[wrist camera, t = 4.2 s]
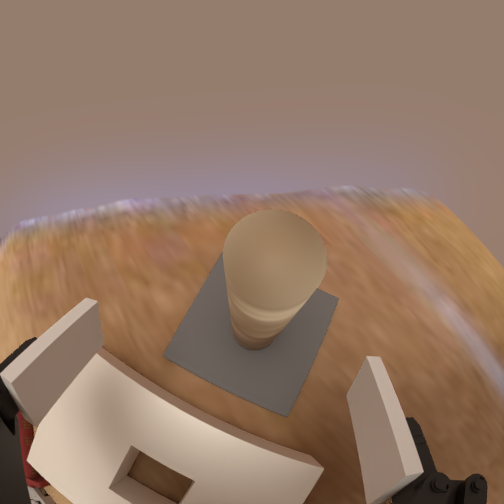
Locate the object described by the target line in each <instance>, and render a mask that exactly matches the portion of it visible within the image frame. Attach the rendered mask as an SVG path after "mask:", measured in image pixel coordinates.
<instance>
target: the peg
mask: <svg viewBox="0 0 504 504" xmlns="http://www.w3.org/2000/svg"><path fill="white" fill-rule="evenodd" d="M223 263H224V271H225V279H226V286H227V294H228V301H229V309H230V316H231V323H232V330H233V335H234V338H235V340H236V341H237V343H238V344H239V345H241V346H242V347H244V348H245V349H248V350H261V349H264V348H266V347H267V346H268V345H270V344H271V343H272V341H273V340H274V339H275V338H276V337H277V336H278V335H279V333H280V332H281V331H282V330H283V329H284V328H285V326H286V325H287V324H288V323H289V322H290V320H291V319H292V318H293V317H294V316H295V314H296V313H297V312H298V311H299V310H300V308H301V307H302V306H303V305H304V304H305V302H306V301H307V300H308V299H309V297H310V296H311V295H312V294H313V292H314V291H315V290H316V289H317V287H318V286H319V285H320V283H321V282H322V280H323V278H324V275H325V272H326V268H327V251H326V247H325V244H324V242H323V239H322V238H321V236H320V234H319V233H318V232H317V230H316V229H315V228H314V227H313V226H312V225H311V224H310V223H309V222H308V221H306V220H305V219H303V218H302V217H300V216H298V215H296V214H293V213H291V212H287V211H283V210H272V209H270V210H262V211H257V212H254V213H252V214H249V215H247V216H246V217H244V218H242V219H241V220H240V221H238V222H237V223H236V224H235V225H234V226H233V227H232V229H231V230H230V232H229V233H228V235H227V237H226V240H225V243H224V247H223Z"/></svg>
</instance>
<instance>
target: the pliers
mask: <svg viewBox="0 0 504 504" xmlns="http://www.w3.org/2000/svg"><path fill="white" fill-rule="evenodd" d="M17 416H18V419H19V433H20V443H21V452H22V459H23V466H24V472H25V477H26V482H27V487H28V491H29V496H30V498H32V499H30V500H31V503H32V504H55V502H54V501H53V499H52V498H51V497H50V496H46V492H45V490H44V488H43V487H45V486H48V485H50V483H49V482H48V481H47V480H46V479H45V478H44V477H42V476H40V474H39V473H38V472H37V471H36V470H35V469H34V468H33V467H32V465H31V464H30V463H29V462H28V461H27V458H28V455H29V452H30V449H31V446H32V443H33V440H34V437H33V429H32V424H31V423H29V422H28V421H27V420H25V419H24V417H23V415H22V414H21V412H20V411H19V412H18V413H17ZM45 496H46V497H45Z"/></svg>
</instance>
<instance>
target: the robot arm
mask: <svg viewBox="0 0 504 504" xmlns="http://www.w3.org/2000/svg"><path fill="white" fill-rule="evenodd" d="M103 345H104V342H103V336H102V329H101V322H100V315H99V306H98V301H95V300H92V299H89V298H85V299H84V300H83V301H82V302H80V303H79V304H78V305H77V306H75V307H74V308H73V309H72V310H70V311H69V312H68V313H67V314H66V315H64V316H63V317H62V318H61V319H60V320H59V321H57V322H56V323H55V324H54V325H53V326H51V327H50V328H49V329H48V330H47V331H46V332H45V333H43V334H42V335H41V336H40V337H39V338H38V339H37V338H36V337H34V338H32V339H29V340H27V341H25V342H24V343H23V344H22V345H21V346H20V347H19V349H16V350H15V351H14V352H13V354H11V355H10V356H8V357H7V358H6V359H5V360H4V361H3V362H2V363H1V364H0V504H32V503H31V500H30V496H29V491H28V487H27V482H26V477H25V472H24V466H23V459H22V452H21V443H20V433H19V419H18V416H17V413H18V412H19V411H20V412H21V414H22V415H23V417H24V419H25V420H27V421H28V422H29V423H31V424H32V425H34V426H35V427H37V426H38V425H39V424H40V422H41V421H42V420H43V418H44V417H45V416H46V415H47V413H48V412H49V411H50V409H51V408H52V407H53V406H54V404H55V403H56V402H57V400H58V399H59V398H60V397H61V395H62V394H63V393H64V392H65V390H66V389H67V388H68V387H69V385H70V384H71V383H72V382H73V381H74V379H75V378H76V377H77V376H78V374H79V373H80V372H81V371H82V370H83V368H84V367H85V366H86V365H87V364H88V363H89V361H90V360H91V359H92V358H93V357H94V355H95V354H96V353H97V352H98V351H99V350H100V348H101V347H102V346H103ZM346 396H347V401H348V405H349V410H350V415H351V419H352V424H353V429H354V434H355V439H356V444H357V449H358V455H359V460H360V466H361V472H362V478H363V484H364V491H365V497H366V504H380V503H384V502H385V501H387V500H388V499H390V498H391V497H392V502H393V503H391V504H486V503H487V481H486V480H485V478H484V477H483V476H482V475H480V474H472V475H471V476H469V477H468V478H467V479H466V480H464V481H460V480H449V478H448V477H447V476H446V475H445V474H443V473H439V472H437V470H436V468H435V465H434V462H433V459H432V457H431V454H430V451H429V448H428V446H427V444H426V440H425V438H424V437H423V433H422V430H421V427H420V425H419V424H418V423H417V422H416V421H415V419H414V418H413V417H410V418H405V416H404V413H403V411H402V408H401V406H400V403H399V401H398V398H397V396H396V393H395V391H394V388H393V386H392V383H391V381H390V379H389V376H388V374H387V371H386V369H385V367H384V364H383V362H382V360H381V358H380V357H374V356H366V358H365V360H364V362H363V364H362V366H361V368H360V370H359V372H358V374H357V376H356V378H355V380H354V382H353V384H352V385H351V387H350V389H349V391H348V393H347V395H346Z"/></svg>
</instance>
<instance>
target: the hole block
mask: <svg viewBox="0 0 504 504" xmlns="http://www.w3.org/2000/svg"><path fill="white" fill-rule="evenodd" d="M140 451H141V452H143V453H145V454H146V455H148V456H150V457H151V458H153V459H155V460H156V461H158V462H160V463H161V464H163V465H165V466H167V467H169V468H171V469H172V470H174V471H176V472H178V473H180V474H182V475H184V476H186V477H188V478H190V479H192V480H193V482H192V483H191V485H190V487H189V488H188V490H187V491H186V493H185V495H184V496H183V498H182V499H181V501H180V502H179V504H303V503H304V501H305V500H306V498H307V496H308V495H309V493H310V492H311V490H312V489H313V487H314V485H315V484H316V482H317V480H318V479H319V477H320V475H321V474H322V472H323V470H324V468H323V467H322V466H321V465H320V464H319V463H318V462H317V461H316V460H315V459H314V458H313V457H312V456H311V455H308V454H305V453H302V452H299V451H296V450H293V449H290V448H287V447H284V446H281V445H279V444H276V443H273V442H271V441H268V440H266V439H263V438H260V437H258V436H256V435H253V434H251V433H248V432H246V431H244V430H241V429H239V428H237V427H235V426H232V425H230V424H228V423H226V422H224V421H222V420H220V419H218V418H216V417H214V416H212V415H210V414H208V413H206V412H204V411H202V410H200V409H198V408H196V407H194V406H192V405H190V404H189V403H187V402H185V401H183V400H181V399H180V398H178V397H176V396H174V395H173V394H171V393H169V392H168V391H166V390H164V389H163V388H161V387H159V386H158V385H156V384H155V383H153V382H151V381H150V380H148V379H147V378H145V377H144V376H142V375H141V374H139V373H138V372H136V371H135V370H133V369H132V368H130V367H129V366H127V365H126V364H125V363H123V362H122V361H120V360H119V359H118V358H116V357H115V356H113V355H112V354H111V353H109V352H108V351H107V350H105V349H104V348H103V347H101V348H100V350H99V351H98V352H97V353H96V354H95V355H94V357H93V358H92V359H91V360H90V361H89V363H88V364H87V365H86V366H85V367H84V368H83V370H82V371H81V372H80V373H79V374H78V376H77V377H76V378H75V379H74V381H73V382H72V383H71V384H70V385H69V387H68V388H67V389H66V390H65V392H64V393H63V394H62V395H61V397H60V398H59V399H58V400H57V402H56V403H55V404H54V406H53V407H52V408H51V409H50V411H49V412H48V413H47V415H46V416H45V417H44V418H43V420H42V421H41V422H40V424H39V426H38V429H37V432H36V435H35V437H34V440H33V443H32V446H31V449H30V452H29V455H28V458H27V461H28V462H29V463H30V464H31V465H32V467H33V468H34V469H35V470H36V471H37V472H38V473H39V474H40V475H41V476H43V477H44V478H45V479H46V480H47V481H48V482H49V483H50V484H51V485H52V486H53V487H54V488H56V489H57V490H58V491H59V492H60V493H61V494H62V495H64V496H65V497H66V498H67V499H68V500H70V501H71V502H72V503H73V504H178V503H176V502H174V501H172V500H170V499H168V498H166V497H164V496H162V495H160V494H158V493H156V492H155V491H153V490H151V489H149V488H147V487H146V486H144V485H142V484H141V483H139V482H137V481H136V480H134V479H133V478H131V477H129V476H128V475H127V474H128V472H129V471H130V469H131V467H132V465H133V463H134V461H135V459H136V458H137V456H138V454H139V452H140Z"/></svg>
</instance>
